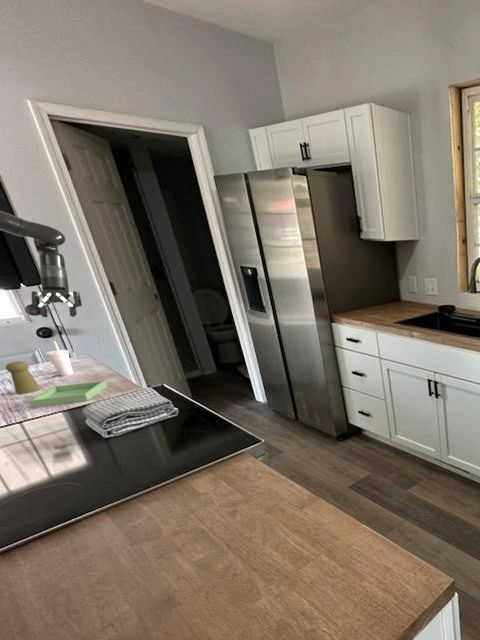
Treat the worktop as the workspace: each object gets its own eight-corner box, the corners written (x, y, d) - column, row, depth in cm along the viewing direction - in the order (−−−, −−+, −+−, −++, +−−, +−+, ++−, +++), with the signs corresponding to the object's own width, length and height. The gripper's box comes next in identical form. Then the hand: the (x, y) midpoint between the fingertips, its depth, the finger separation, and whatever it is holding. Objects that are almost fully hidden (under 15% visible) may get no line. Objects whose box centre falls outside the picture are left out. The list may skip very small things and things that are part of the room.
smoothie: (75, 375, 166) (61, 341, 161) (53, 378, 162) (37, 344, 157) (79, 370, 171) (65, 338, 166) (58, 374, 167) (43, 340, 162)
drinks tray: (31, 407, 135) (27, 401, 134) (56, 392, 148) (53, 386, 147) (87, 400, 140) (85, 394, 140) (107, 386, 153) (105, 380, 152)
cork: (30, 387, 153) (16, 359, 149) (45, 387, 153) (32, 359, 149) (11, 394, 147) (-4, 365, 143) (27, 394, 147) (13, 365, 143)
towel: (86, 429, 120) (75, 404, 117) (161, 406, 135) (153, 384, 132) (105, 441, 113) (94, 416, 110) (182, 416, 127) (174, 393, 124)
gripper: (81, 280, 177) (86, 317, 178) (36, 279, 171) (41, 318, 172) (72, 275, 170) (76, 315, 171) (24, 275, 164) (29, 315, 165)
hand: (58, 316), depth 171 cm, fingers open, 8 cm apart
